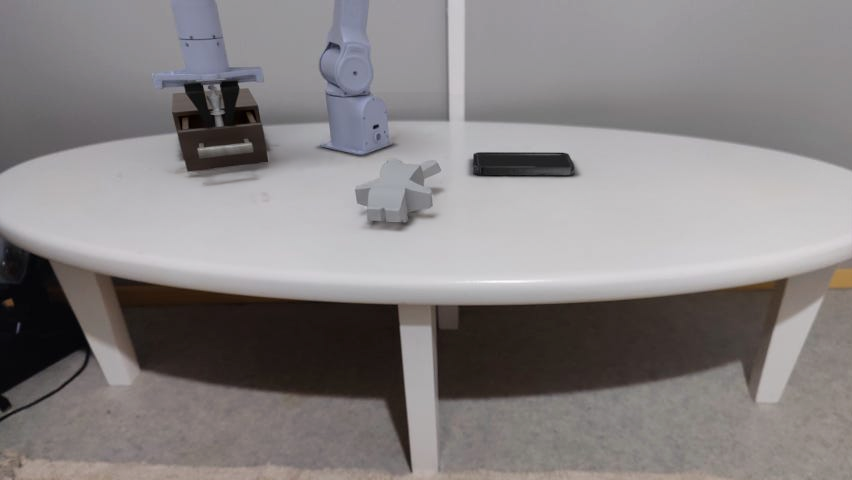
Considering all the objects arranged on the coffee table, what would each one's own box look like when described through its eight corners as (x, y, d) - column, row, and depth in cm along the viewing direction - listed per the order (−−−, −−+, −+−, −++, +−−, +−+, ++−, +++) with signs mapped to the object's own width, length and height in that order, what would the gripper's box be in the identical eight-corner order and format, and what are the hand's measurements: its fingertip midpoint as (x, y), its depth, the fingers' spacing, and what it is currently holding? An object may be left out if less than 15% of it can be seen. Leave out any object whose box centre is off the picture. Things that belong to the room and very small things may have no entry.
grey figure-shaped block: (340, 194, 64) (378, 143, 76) (347, 233, 67) (382, 178, 79) (421, 199, 63) (447, 147, 75) (424, 238, 66) (448, 181, 78)
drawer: (273, 171, 81) (266, 132, 78) (187, 181, 77) (177, 141, 74) (258, 138, 96) (251, 104, 94) (186, 146, 92) (177, 110, 89)
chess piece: (231, 143, 89) (218, 77, 84) (248, 149, 86) (235, 82, 82) (201, 149, 86) (186, 82, 81) (217, 156, 83) (202, 86, 78)
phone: (473, 152, 89) (567, 152, 89) (473, 159, 89) (567, 159, 89) (473, 167, 82) (575, 168, 82) (473, 175, 82) (574, 175, 82)
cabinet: (266, 150, 93) (257, 105, 90) (183, 159, 88) (171, 112, 85) (255, 128, 105) (248, 88, 102) (183, 135, 101) (172, 93, 97)
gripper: (141, 43, 72) (168, 146, 79) (259, 38, 78) (275, 135, 84) (143, 37, 78) (168, 134, 84) (253, 33, 84) (269, 124, 90)
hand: (221, 134), depth 85 cm, fingers closed on chess piece
